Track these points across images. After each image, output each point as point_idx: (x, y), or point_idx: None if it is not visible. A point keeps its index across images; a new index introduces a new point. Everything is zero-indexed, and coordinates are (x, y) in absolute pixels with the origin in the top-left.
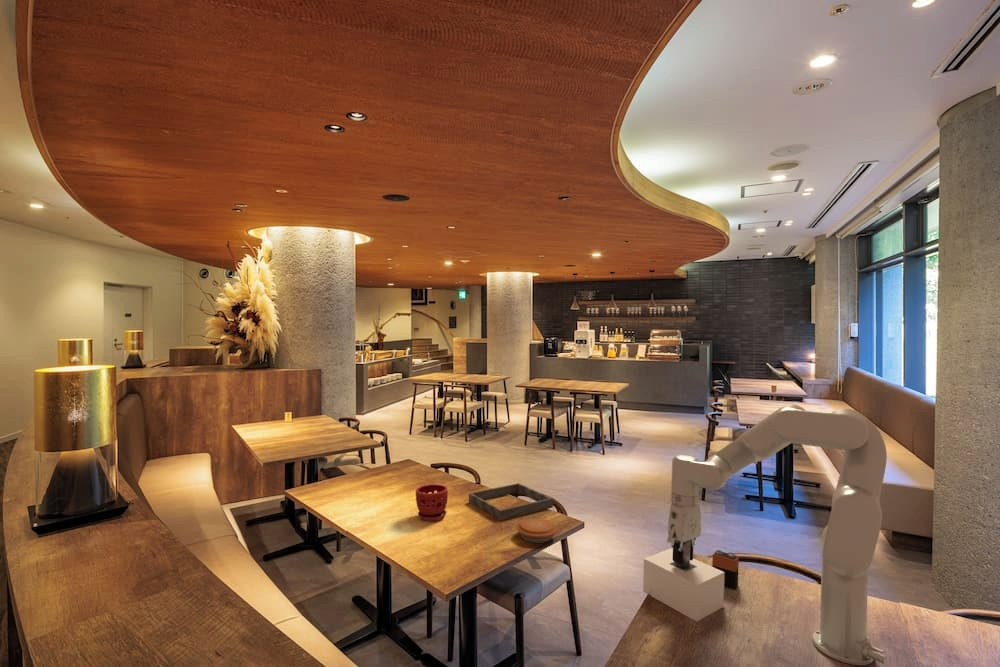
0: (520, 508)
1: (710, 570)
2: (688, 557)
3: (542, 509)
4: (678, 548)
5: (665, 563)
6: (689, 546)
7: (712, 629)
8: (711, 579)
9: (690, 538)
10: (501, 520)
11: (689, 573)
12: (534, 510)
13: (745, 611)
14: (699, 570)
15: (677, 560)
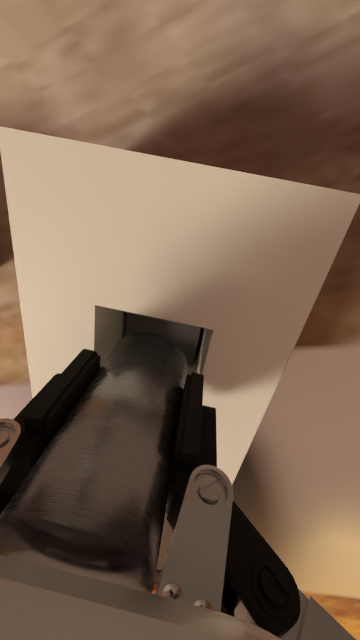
0: None
1: (67, 221)
2: (137, 377)
3: None
4: (228, 508)
5: None
6: (90, 455)
7: (303, 120)
8: (174, 160)
9: (62, 635)
10: None
11: (218, 306)
12: None
13: (61, 70)
14: (128, 276)
15: (215, 411)
